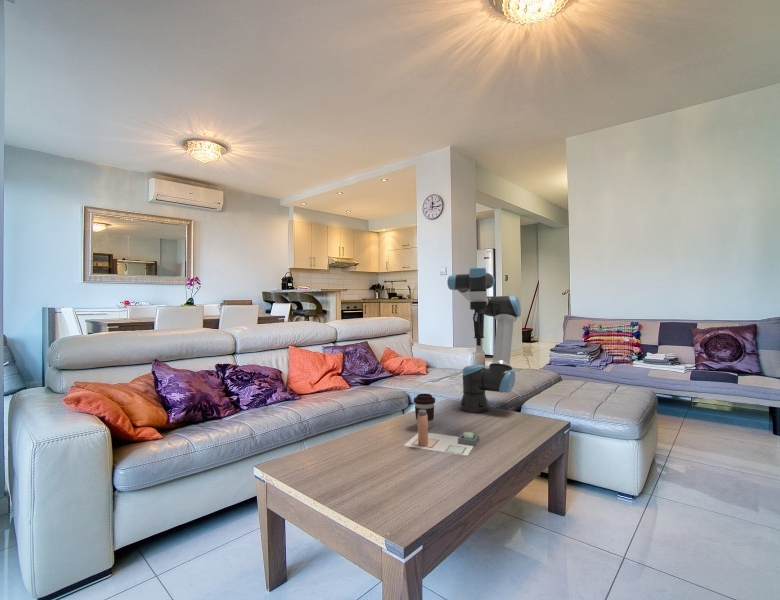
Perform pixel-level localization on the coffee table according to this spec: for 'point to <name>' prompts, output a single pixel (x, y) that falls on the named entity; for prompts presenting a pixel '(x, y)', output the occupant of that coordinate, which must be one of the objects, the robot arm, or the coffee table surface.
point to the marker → (422, 428)
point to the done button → (468, 435)
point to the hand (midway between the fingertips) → (479, 352)
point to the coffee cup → (425, 407)
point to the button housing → (468, 440)
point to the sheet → (441, 444)
